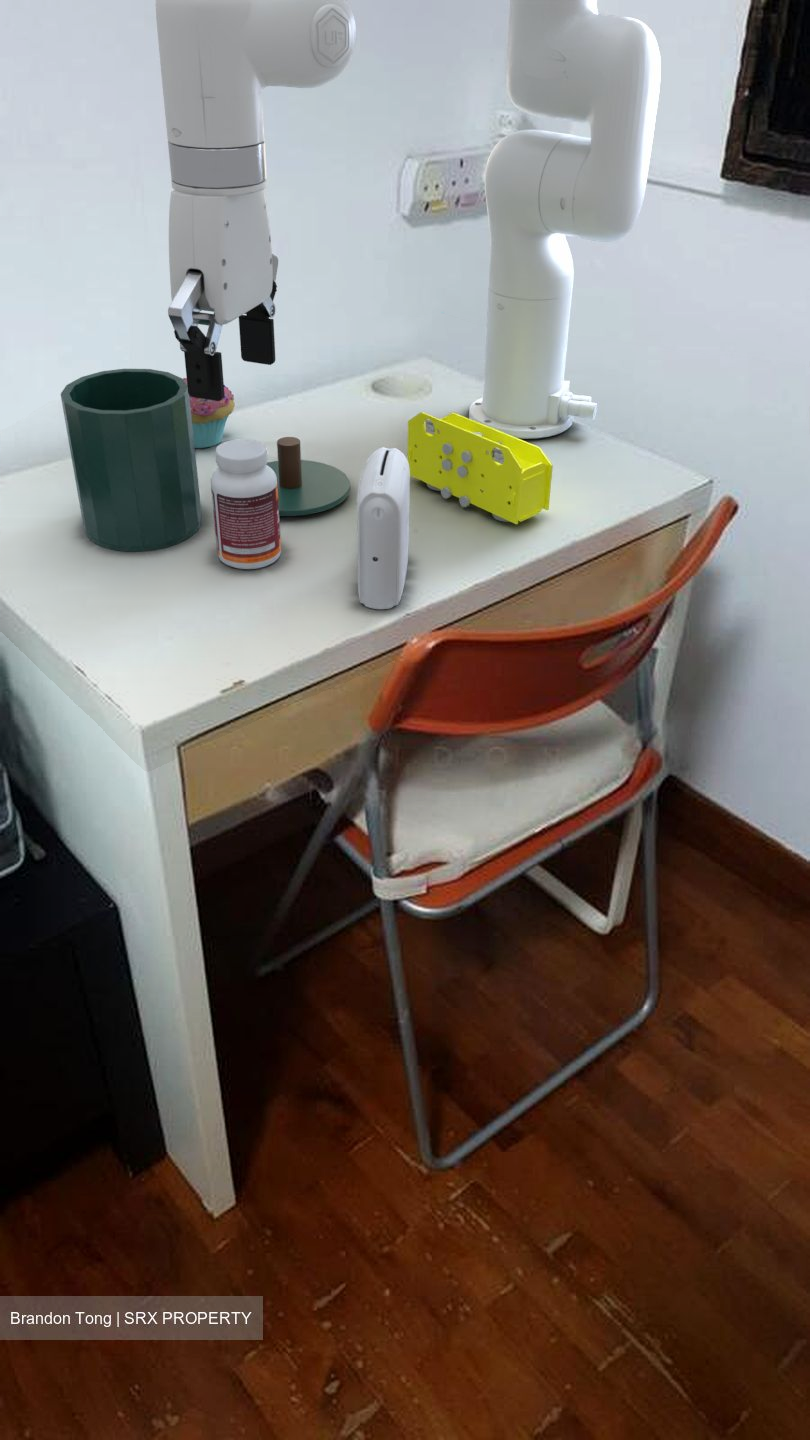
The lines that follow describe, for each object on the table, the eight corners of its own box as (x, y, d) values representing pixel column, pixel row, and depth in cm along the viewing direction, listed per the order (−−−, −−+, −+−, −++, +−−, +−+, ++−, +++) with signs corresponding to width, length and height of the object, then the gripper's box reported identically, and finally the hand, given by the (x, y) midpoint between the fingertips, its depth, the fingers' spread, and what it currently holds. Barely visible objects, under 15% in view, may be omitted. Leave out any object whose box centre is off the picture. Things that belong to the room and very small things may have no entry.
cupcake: (231, 455, 130) (222, 350, 123) (156, 454, 130) (143, 349, 123) (241, 426, 137) (233, 325, 130) (170, 425, 137) (158, 323, 130)
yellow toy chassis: (404, 482, 125) (404, 408, 120) (441, 467, 128) (443, 395, 123) (512, 533, 115) (518, 455, 110) (549, 516, 119) (557, 439, 114)
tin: (209, 499, 121) (196, 369, 112) (191, 552, 111) (175, 414, 103) (99, 498, 121) (78, 367, 112) (72, 550, 111) (47, 412, 103)
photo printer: (401, 612, 103) (403, 485, 96) (354, 609, 103) (352, 482, 96) (411, 557, 111) (413, 436, 104) (367, 555, 111) (366, 434, 104)
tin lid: (353, 470, 127) (352, 418, 123) (347, 522, 117) (346, 467, 113) (239, 468, 127) (235, 417, 123) (224, 520, 117) (219, 465, 113)
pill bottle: (294, 558, 111) (288, 451, 104) (240, 578, 108) (230, 468, 101) (258, 535, 115) (251, 430, 108) (205, 553, 111) (194, 446, 105)
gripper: (227, 144, 98) (240, 344, 108) (117, 182, 85) (144, 406, 95) (307, 151, 96) (313, 355, 106) (207, 192, 83) (225, 420, 93)
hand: (233, 379), depth 100 cm, fingers open, 9 cm apart
